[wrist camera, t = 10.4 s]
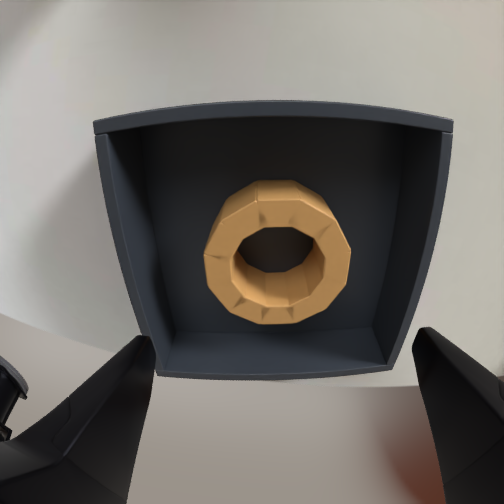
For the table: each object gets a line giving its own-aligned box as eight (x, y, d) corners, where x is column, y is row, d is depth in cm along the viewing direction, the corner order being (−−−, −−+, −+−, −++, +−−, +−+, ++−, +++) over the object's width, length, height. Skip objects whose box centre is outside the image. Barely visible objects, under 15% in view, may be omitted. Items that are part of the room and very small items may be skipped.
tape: (329, 287, 17) (339, 322, 14) (219, 290, 17) (212, 325, 15) (339, 179, 14) (357, 199, 11) (208, 181, 14) (196, 201, 12)
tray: (374, 326, 19) (392, 370, 16) (171, 331, 20) (157, 376, 16) (410, 111, 13) (454, 119, 9) (131, 113, 13) (92, 121, 10)
